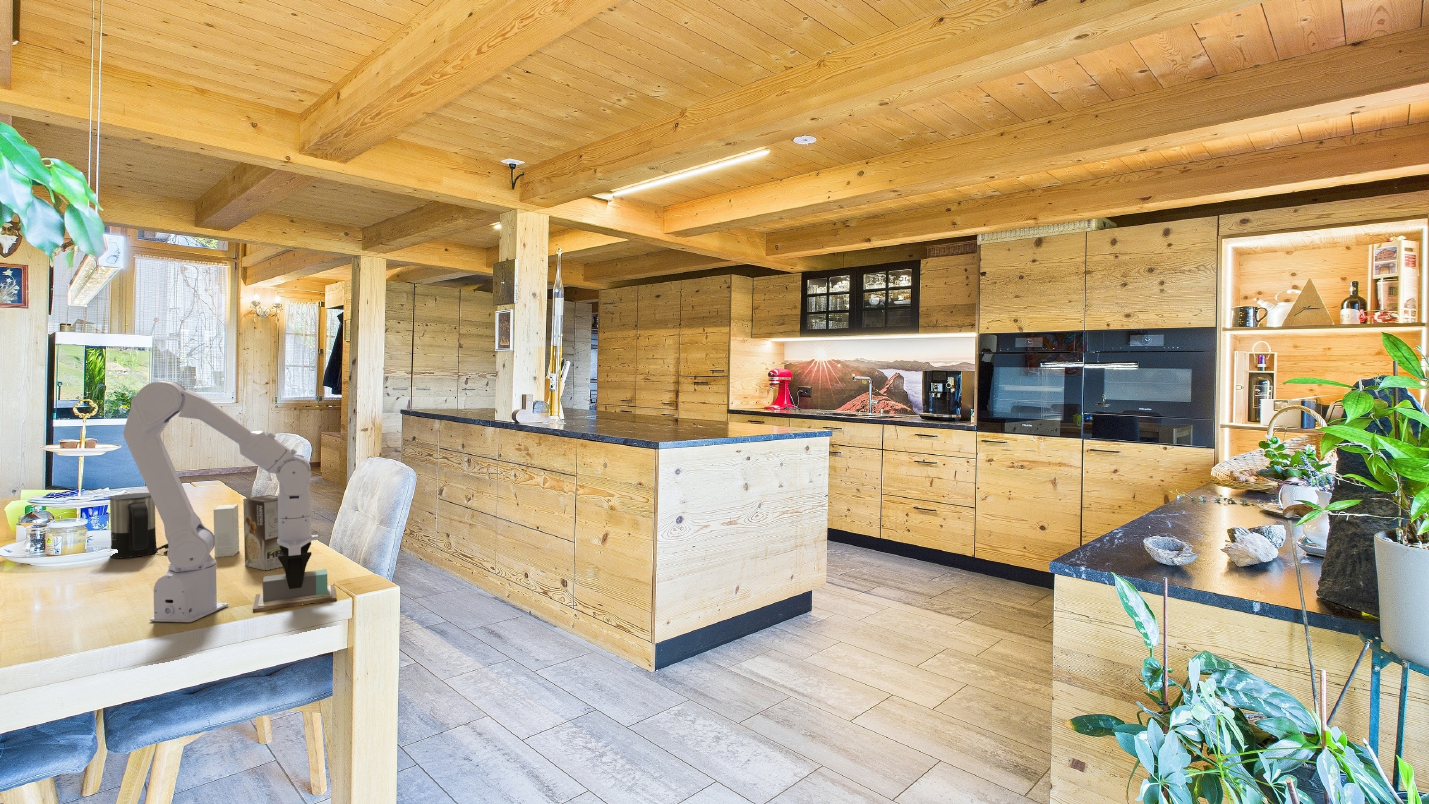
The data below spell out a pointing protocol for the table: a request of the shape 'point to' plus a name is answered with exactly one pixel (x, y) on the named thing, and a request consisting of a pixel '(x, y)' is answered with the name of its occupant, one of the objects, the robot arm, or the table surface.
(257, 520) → the coffee box
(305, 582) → the gray teal block
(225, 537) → the skincare box
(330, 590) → the wooden tray
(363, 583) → the table surface
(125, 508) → the milk frother
